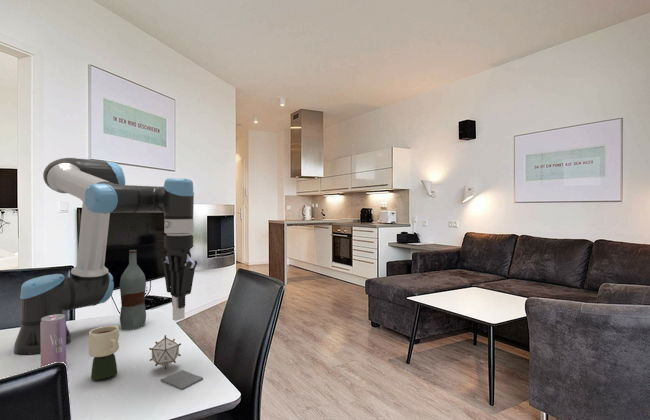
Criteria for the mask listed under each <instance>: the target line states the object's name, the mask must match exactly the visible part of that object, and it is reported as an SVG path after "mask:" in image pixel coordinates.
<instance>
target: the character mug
mask: <svg viewBox="0 0 650 420" xmlns="http://www.w3.org/2000/svg"><path fill="white" fill-rule="evenodd" d="M119 338H120V328H119V326H117V325H106V326H101V327H96V328H92V329H91V330H90V331H89V332H88V356H90V357H91V358H93V359H92V365H91V371H90V372H91V374H90V378H91V380H94V381H99V380H102V379H109V378H111V377H114V376H116V375H117V374H118V367H117V359H116V355H115V354H116V353H117V351H118V350H119V349H120V344H119Z"/></svg>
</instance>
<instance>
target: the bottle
mask: <svg viewBox="0 0 650 420" xmlns="http://www.w3.org/2000/svg"><path fill="white" fill-rule="evenodd" d="M128 254H129V255H128V265H127V267H126V268H125V269H124V271H123V273H122V274H121V276H120V281H119V293H120V301H121V307H120V315H119V323H120V327H121V330H123V331H135V330H138V329H141V327H142V328H143V327H145V326H146V325H145V324H146V321H147V320H146V319H147V310H146V304H145V303H146V302H145V299H146V298H145V297H146V287H147V282H146V276H145V273H144V272H143V270H142V269H141V267H140V266H139V265H138V263H137V249H129V250H128Z"/></svg>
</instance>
